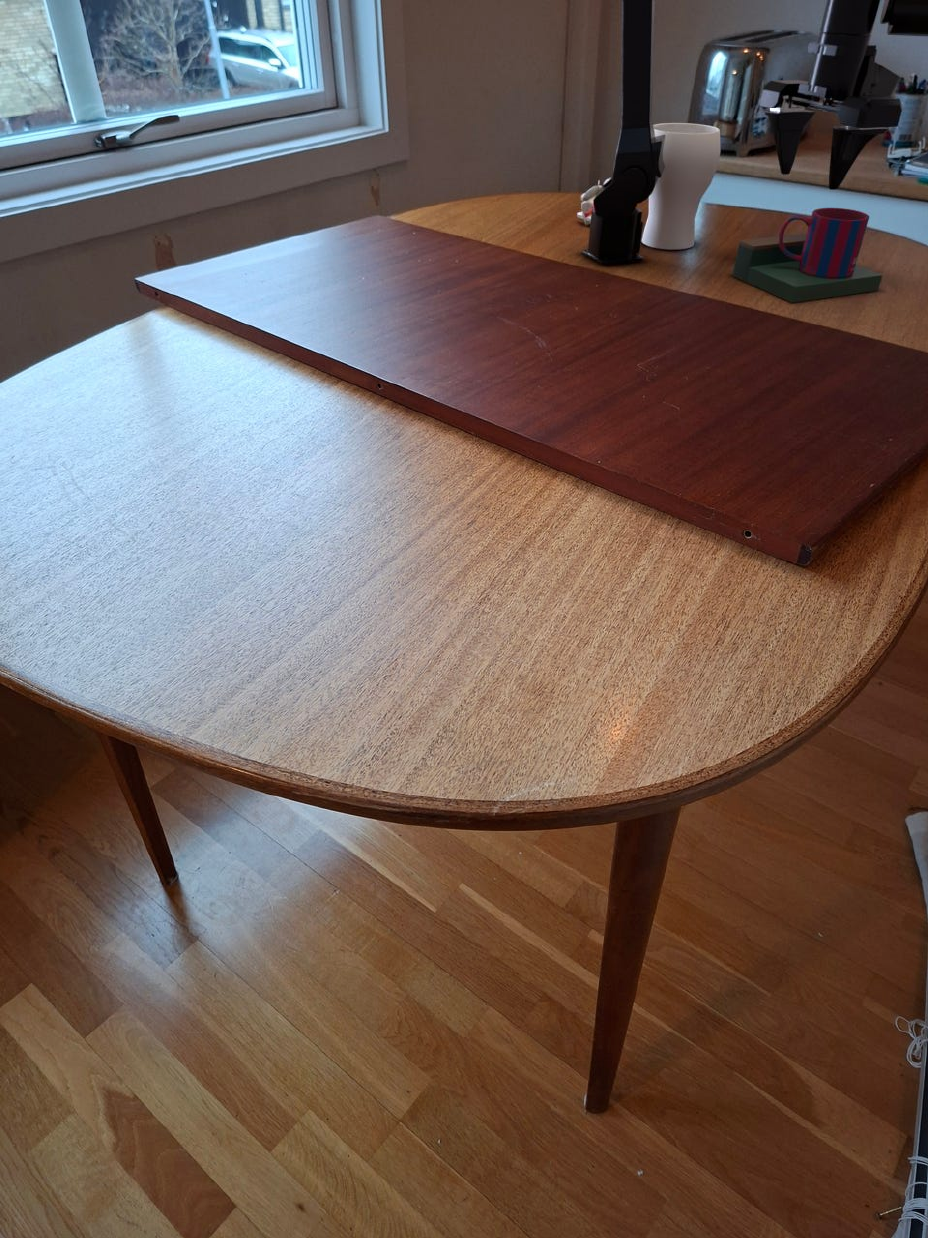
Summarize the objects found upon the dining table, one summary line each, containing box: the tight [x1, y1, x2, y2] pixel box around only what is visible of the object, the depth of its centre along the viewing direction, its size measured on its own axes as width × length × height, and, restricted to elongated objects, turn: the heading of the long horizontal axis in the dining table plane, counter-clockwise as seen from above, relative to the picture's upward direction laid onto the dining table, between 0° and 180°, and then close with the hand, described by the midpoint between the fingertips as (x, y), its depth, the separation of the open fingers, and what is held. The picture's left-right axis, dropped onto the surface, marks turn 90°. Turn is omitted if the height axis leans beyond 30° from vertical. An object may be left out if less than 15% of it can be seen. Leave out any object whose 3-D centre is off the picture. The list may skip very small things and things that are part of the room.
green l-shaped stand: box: [732, 232, 883, 304], centre depth 110 cm, size 14×12×4 cm
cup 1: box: [641, 122, 722, 251], centre depth 122 cm, size 11×11×15 cm
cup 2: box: [778, 207, 870, 278], centre depth 107 cm, size 7×10×7 cm
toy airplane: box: [576, 177, 612, 226], centre depth 133 cm, size 9×9×6 cm
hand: (808, 181), depth 108 cm, fingers open, 9 cm apart
